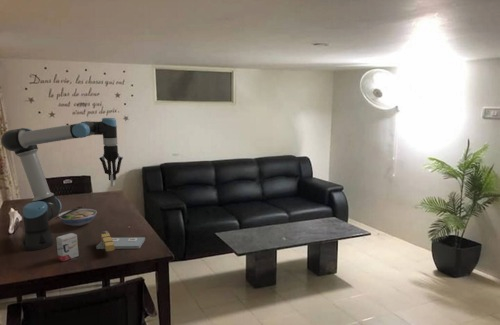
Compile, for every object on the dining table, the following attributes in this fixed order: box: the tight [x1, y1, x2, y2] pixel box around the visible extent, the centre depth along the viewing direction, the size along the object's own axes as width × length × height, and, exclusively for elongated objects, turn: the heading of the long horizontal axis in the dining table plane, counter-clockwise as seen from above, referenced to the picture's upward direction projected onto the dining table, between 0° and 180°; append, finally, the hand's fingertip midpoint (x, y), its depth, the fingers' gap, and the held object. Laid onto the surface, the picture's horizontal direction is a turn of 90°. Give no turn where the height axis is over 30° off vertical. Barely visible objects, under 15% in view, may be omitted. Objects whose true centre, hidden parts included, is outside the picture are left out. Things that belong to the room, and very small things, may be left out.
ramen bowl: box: [54, 206, 98, 227], centre depth 247 cm, size 25×23×8 cm
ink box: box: [55, 232, 79, 262], centre depth 195 cm, size 9×5×12 cm, turn 146°
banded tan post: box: [100, 230, 115, 252], centre depth 207 cm, size 22×4×5 cm, turn 27°
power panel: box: [95, 236, 146, 250], centre depth 214 cm, size 23×13×2 cm, turn 92°
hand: (112, 185), depth 223 cm, fingers closed
